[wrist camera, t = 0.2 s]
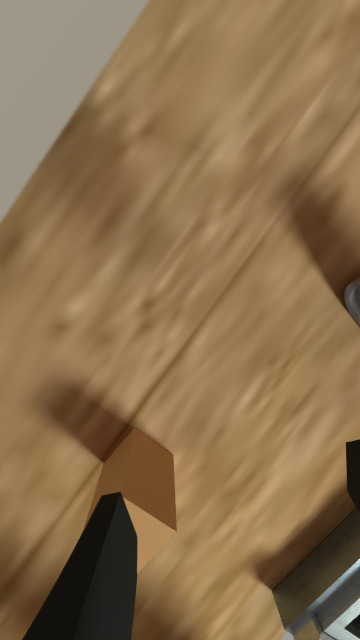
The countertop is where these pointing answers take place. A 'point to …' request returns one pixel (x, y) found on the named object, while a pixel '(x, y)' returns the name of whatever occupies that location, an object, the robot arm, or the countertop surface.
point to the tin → (353, 299)
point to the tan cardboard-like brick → (142, 491)
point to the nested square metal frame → (325, 588)
